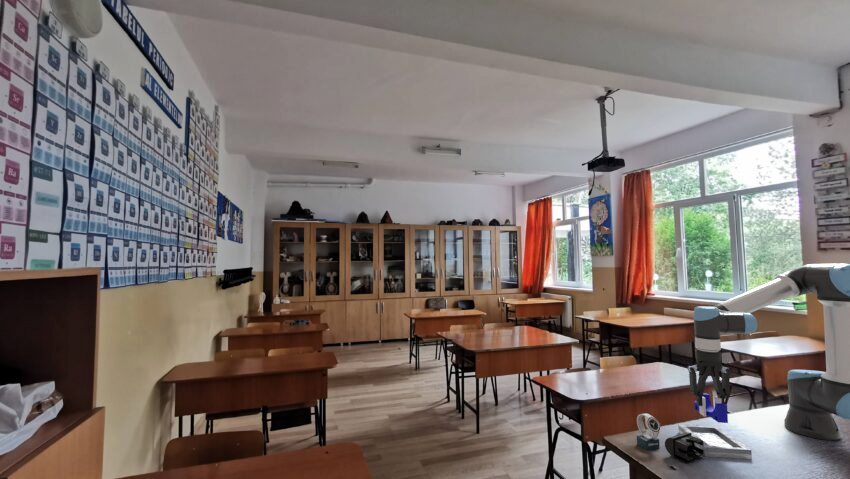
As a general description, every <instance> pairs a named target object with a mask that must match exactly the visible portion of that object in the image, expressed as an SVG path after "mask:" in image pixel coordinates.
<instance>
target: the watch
mask: <svg viewBox="0 0 850 479" xmlns="http://www.w3.org/2000/svg"><path fill="white" fill-rule="evenodd" d="M643 418H644V420H645V424H644V421H643ZM636 425H637V428H638V430H639V433H640V434H638V435H637V434H636V445H637V446H639V447H641V448H642V449H644V450H646V451H649V450H656V449H660V438H659V437H658V436H659V434H660V430H661V423H660V422H659V420H658V419H657V418H655V417H654V416H653V415H651V414H649V413H647V412H646V413H640V414H638V415H637V417H636ZM647 429H648V431H649V432H650V433H647Z"/></svg>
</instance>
